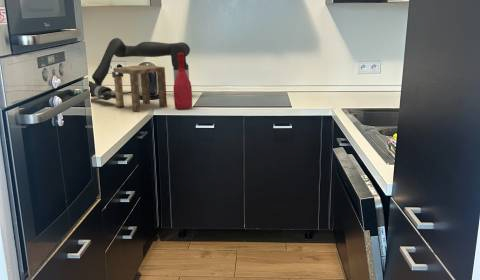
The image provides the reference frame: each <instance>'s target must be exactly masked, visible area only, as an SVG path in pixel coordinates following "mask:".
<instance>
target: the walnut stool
mask: <svg viewBox="0 0 480 280" xmlns="http://www.w3.org/2000/svg"><path fill="white" fill-rule="evenodd" d="M112 70H113V71H112V72H111V75H112V76H111V77H112V78H113V79H114V78H116V74H117V73H118V74H121V76H122V78H123V77H124V74H126V75H127V74H128V75H129V80H130V91H131V92H130V94H131V108H132V112H133V113H140V112H141V111H142V110H141V97H140V88H139V87H140V84H139V75H140V77H141V78H140V79H141V80H140V81H141V92H142V93H141V94H142V95H141V96H142V104H144V103H145V104H146V105H148V104H151V93H150V80H149V74H150V73H156V76H157V89H158V105H159V108H168V104H167V103H168V101H167V100H168V99H167V83H166V82H167V81H166V67H165V66H159V65H148V64H142V65H141V64H139V65H131V66H130V65H129V66H123V67H122V66H121V67H113V69H112ZM145 104H144V105H145Z"/></svg>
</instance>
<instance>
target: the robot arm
mask: <svg viewBox="0 0 480 280" xmlns="http://www.w3.org/2000/svg"><path fill="white" fill-rule="evenodd" d="M178 53H184V68H185V72H186V74H187V76H188V78H189V79H190V74H189V73H190V71H189V70H190V69H189V67H190V66H189V64H188V63H187V58H186V57H187V56H188V55H189V54H190V53H191V49H190V46H189V45H188V44H187V43H185V42H182V41H181V42H173V43H167V42H166V43H165V42H160V41H142V42H140V43H138V44H136V45H126V44H125V43H124V41H122V39H120V38H119V37H115V38H112V39H111V40H110V41H109V43H108V45H107V47H106V49H105V51H104V54H103V55H102V56H103V57H102V59H101V61H100V63H99V64H98V66H97V67H96V69H95V70H94V72H93V74H92V75H91V78H92V80H93V81H94V82H93V81H91V80H88V81H89V87H90V93H91V96H90V97H91V98H95V97H96V98H99V99H101V100H103V101H109V100H111V99H113V100H114V99H115V100H116V94H115V91H113V90H112V88H110V87H108V86H104V85H103V82H104V80H105V78H106V77H107V75H108V74H109V72H110V71H109V70H110V67H111V63H112V59H113V57H114V56H115V57H117V58H130V57H138V58H139V57H143V58H146V57H147V58H158V57H166V56H170V59H171V66H172V68H173V69H172V70H173V83H174V82H175V79H176V76H177V74H178V70H179V62H178ZM190 83H191V81H190Z"/></svg>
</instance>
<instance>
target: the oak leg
mask: <svg viewBox="0 0 480 280" xmlns="http://www.w3.org/2000/svg"><path fill="white" fill-rule="evenodd" d="M113 80H114V92H115V94H116V99H115V102H116V103H115V104H116V106H115V107H116V108H118V109H122V108H125V104H124V103H125V102H124V100H125V99H124V91H123V90H124V89H123V87H124V86H123V77H122V76H121V74H120V73H116V78H113Z"/></svg>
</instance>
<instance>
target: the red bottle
mask: <svg viewBox="0 0 480 280" xmlns="http://www.w3.org/2000/svg"><path fill="white" fill-rule="evenodd" d="M178 62H179V70H178V74H177V76H176V79H175V82H174V81H173V101H174V109H176V110H189V109H191V108H192V107H193V88H192V84H191V83H190V82H191V81H190V77H189V78H188V76H187V74H186V72H185V68H184V53H178Z"/></svg>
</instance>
